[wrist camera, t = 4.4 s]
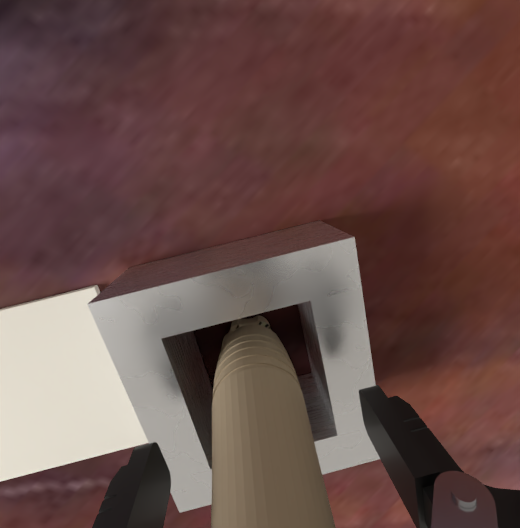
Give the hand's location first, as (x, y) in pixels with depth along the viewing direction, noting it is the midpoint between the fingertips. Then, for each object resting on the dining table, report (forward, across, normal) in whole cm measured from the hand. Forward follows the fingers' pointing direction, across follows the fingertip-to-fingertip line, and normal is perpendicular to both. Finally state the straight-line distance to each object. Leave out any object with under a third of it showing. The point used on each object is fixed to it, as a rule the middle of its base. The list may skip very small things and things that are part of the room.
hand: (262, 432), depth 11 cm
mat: (+7, +13, 0) cm, 15 cm away
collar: (+7, 0, 0) cm, 7 cm away
